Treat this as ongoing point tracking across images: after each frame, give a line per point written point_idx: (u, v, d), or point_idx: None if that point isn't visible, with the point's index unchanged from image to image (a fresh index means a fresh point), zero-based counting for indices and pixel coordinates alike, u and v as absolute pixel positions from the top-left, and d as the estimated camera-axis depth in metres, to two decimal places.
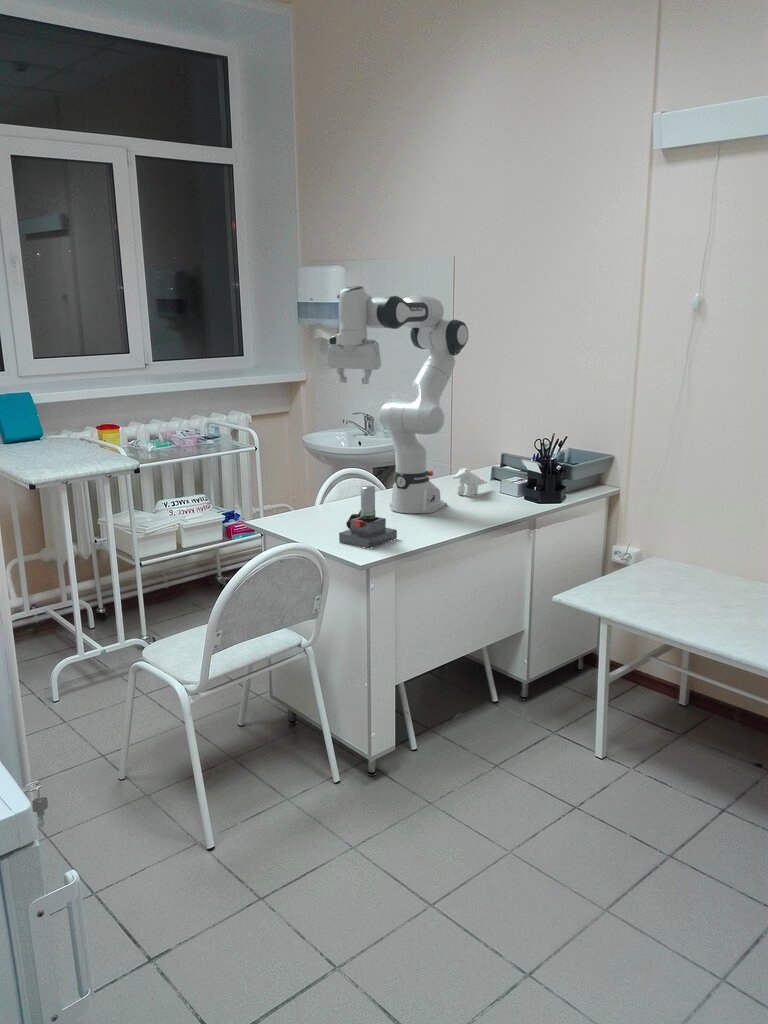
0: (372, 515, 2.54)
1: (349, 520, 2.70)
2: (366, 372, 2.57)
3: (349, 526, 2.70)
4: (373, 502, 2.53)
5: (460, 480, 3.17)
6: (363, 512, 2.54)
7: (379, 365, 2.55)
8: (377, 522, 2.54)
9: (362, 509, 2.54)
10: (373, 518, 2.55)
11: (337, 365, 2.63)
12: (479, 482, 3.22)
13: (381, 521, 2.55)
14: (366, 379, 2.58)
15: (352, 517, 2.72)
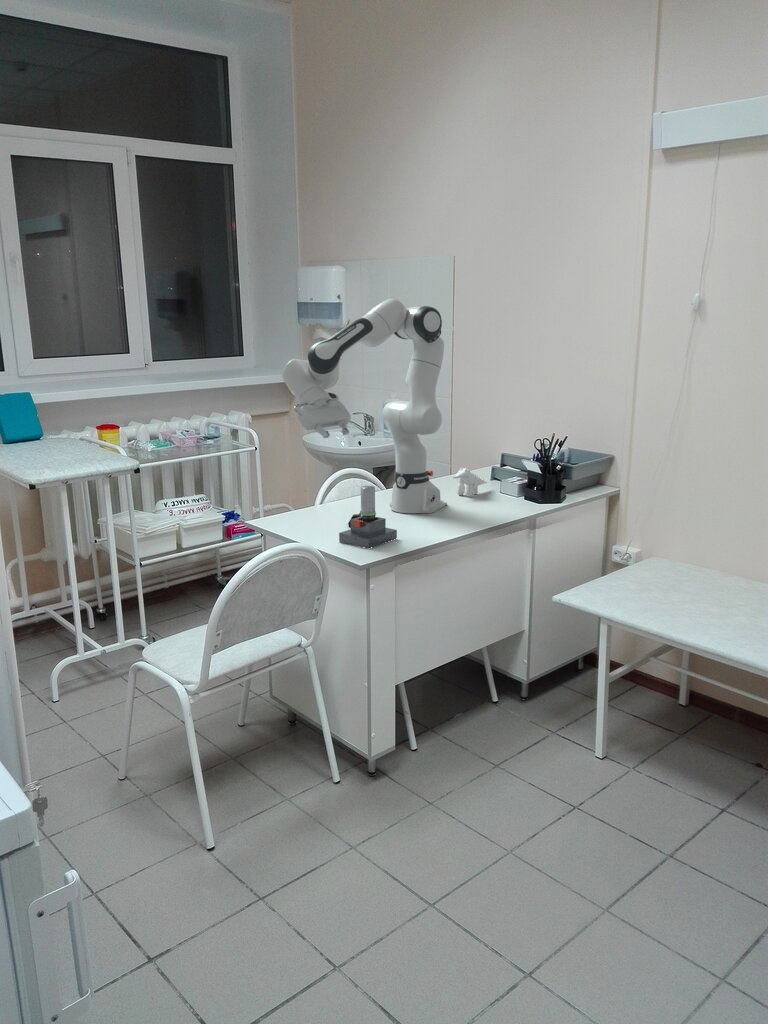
0: (372, 515, 2.54)
1: None
2: None
3: None
4: (373, 502, 2.53)
5: (460, 480, 3.17)
6: (363, 512, 2.54)
7: (307, 422, 2.55)
8: (377, 522, 2.54)
9: (362, 509, 2.54)
10: (373, 518, 2.55)
11: None
12: (480, 482, 3.22)
13: (381, 521, 2.55)
14: (323, 434, 2.58)
15: (354, 517, 2.72)
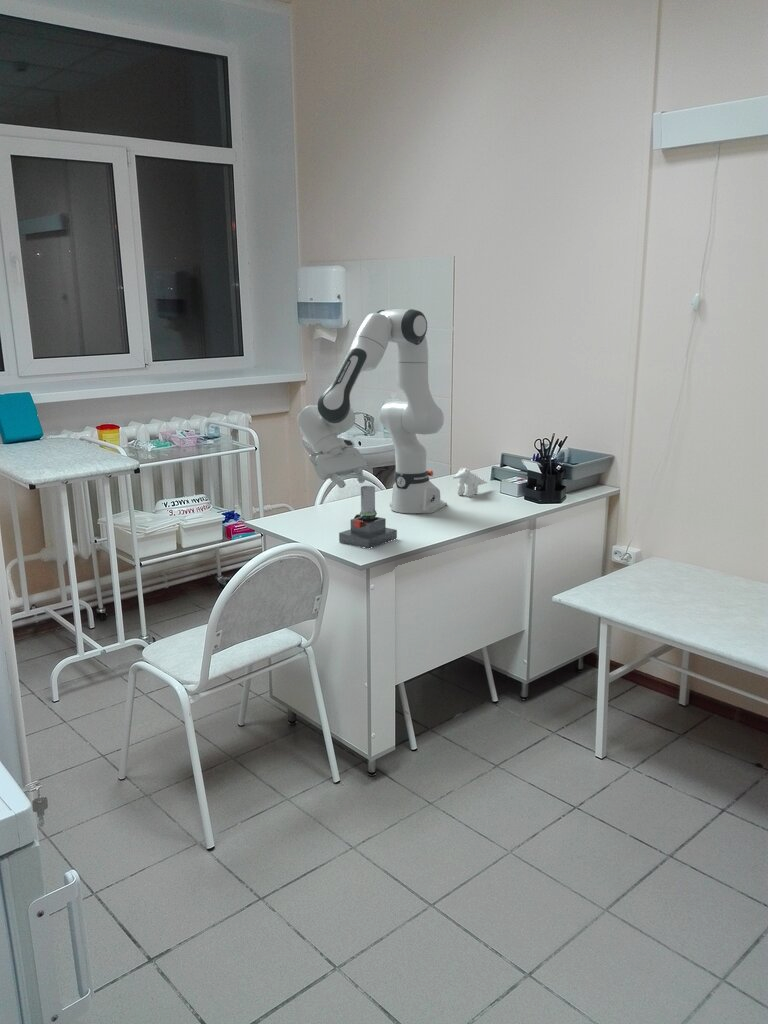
0: (372, 515, 2.54)
1: None
2: None
3: None
4: (373, 502, 2.53)
5: (460, 480, 3.17)
6: (363, 512, 2.54)
7: (322, 472, 2.50)
8: (377, 522, 2.54)
9: (362, 509, 2.54)
10: (373, 518, 2.55)
11: None
12: (480, 482, 3.22)
13: (381, 521, 2.55)
14: (338, 483, 2.53)
15: (356, 517, 2.72)
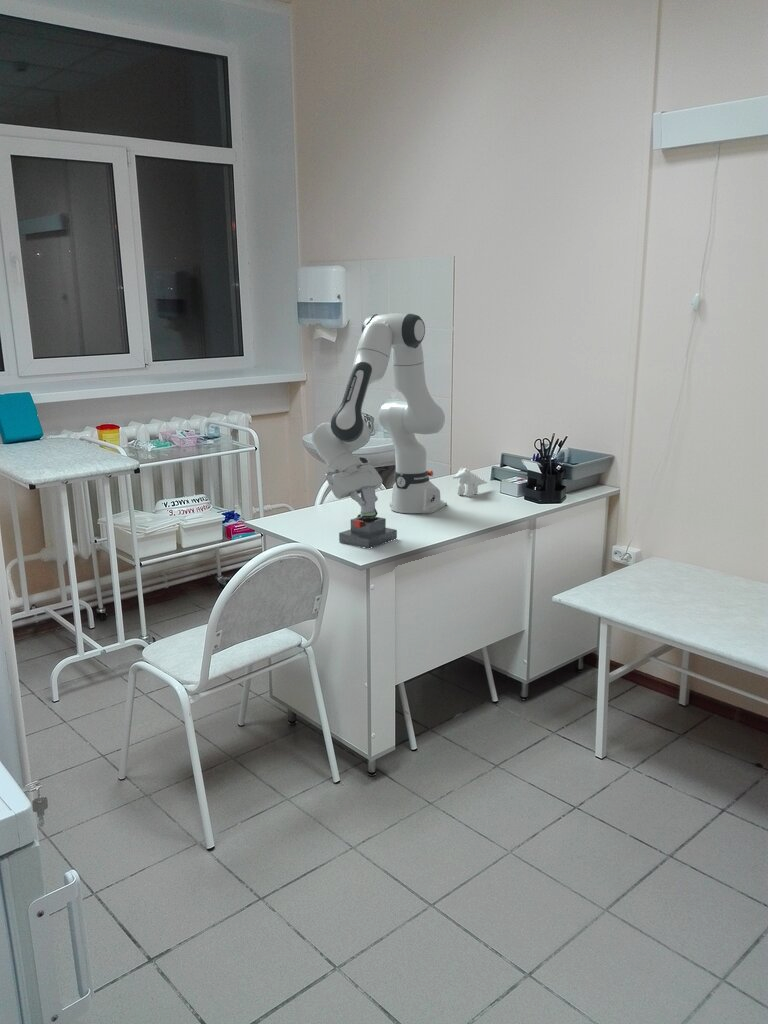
0: (372, 515, 2.54)
1: None
2: None
3: None
4: (373, 502, 2.53)
5: (460, 480, 3.17)
6: (363, 512, 2.54)
7: (339, 491, 2.48)
8: (377, 522, 2.54)
9: (362, 509, 2.54)
10: (373, 518, 2.55)
11: None
12: (480, 482, 3.22)
13: (381, 521, 2.55)
14: (359, 501, 2.52)
15: None
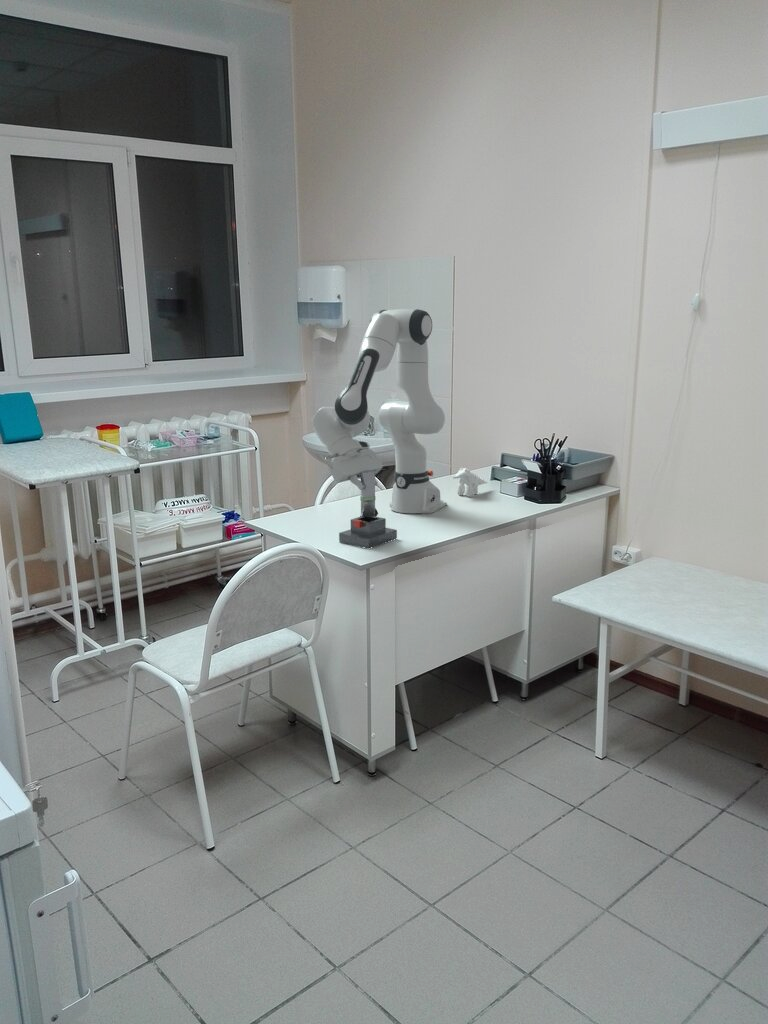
0: (372, 499, 2.53)
1: None
2: None
3: None
4: (373, 486, 2.52)
5: (460, 480, 3.17)
6: (363, 496, 2.52)
7: (338, 475, 2.47)
8: (377, 522, 2.54)
9: (362, 493, 2.53)
10: (373, 503, 2.53)
11: None
12: (479, 482, 3.22)
13: (381, 521, 2.55)
14: (358, 485, 2.51)
15: None
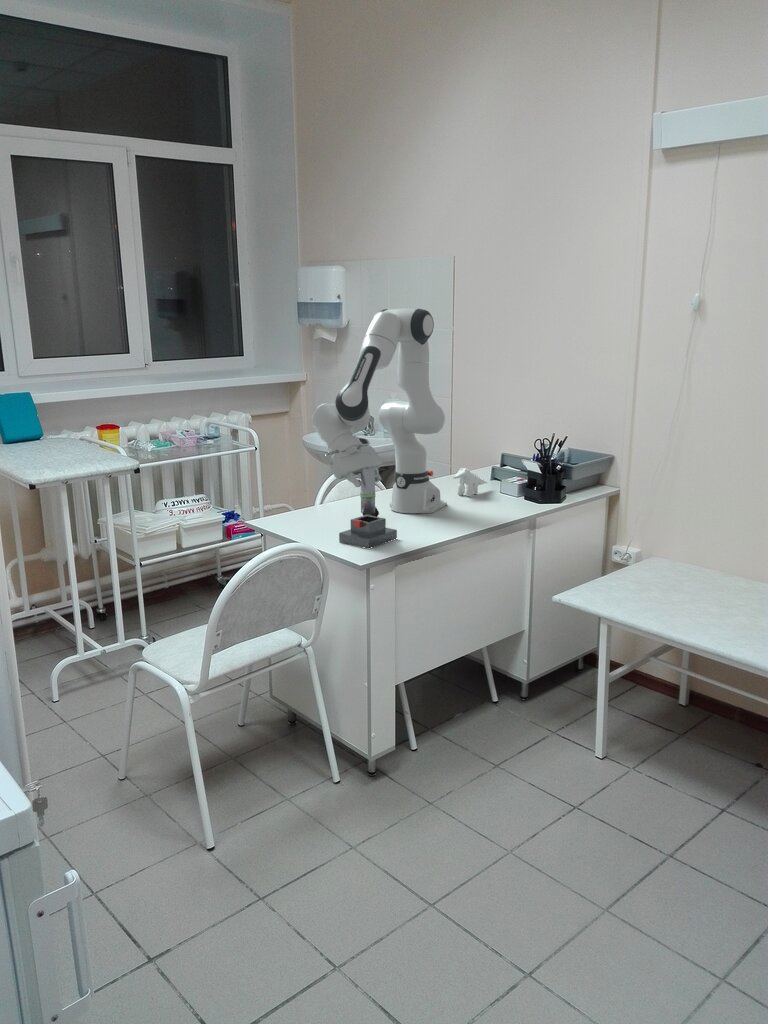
0: (372, 496, 2.52)
1: None
2: None
3: None
4: (373, 483, 2.52)
5: (460, 480, 3.17)
6: (363, 493, 2.52)
7: (338, 471, 2.46)
8: (377, 522, 2.54)
9: (362, 490, 2.52)
10: (373, 499, 2.53)
11: None
12: (479, 482, 3.22)
13: (381, 521, 2.55)
14: (355, 483, 2.49)
15: None
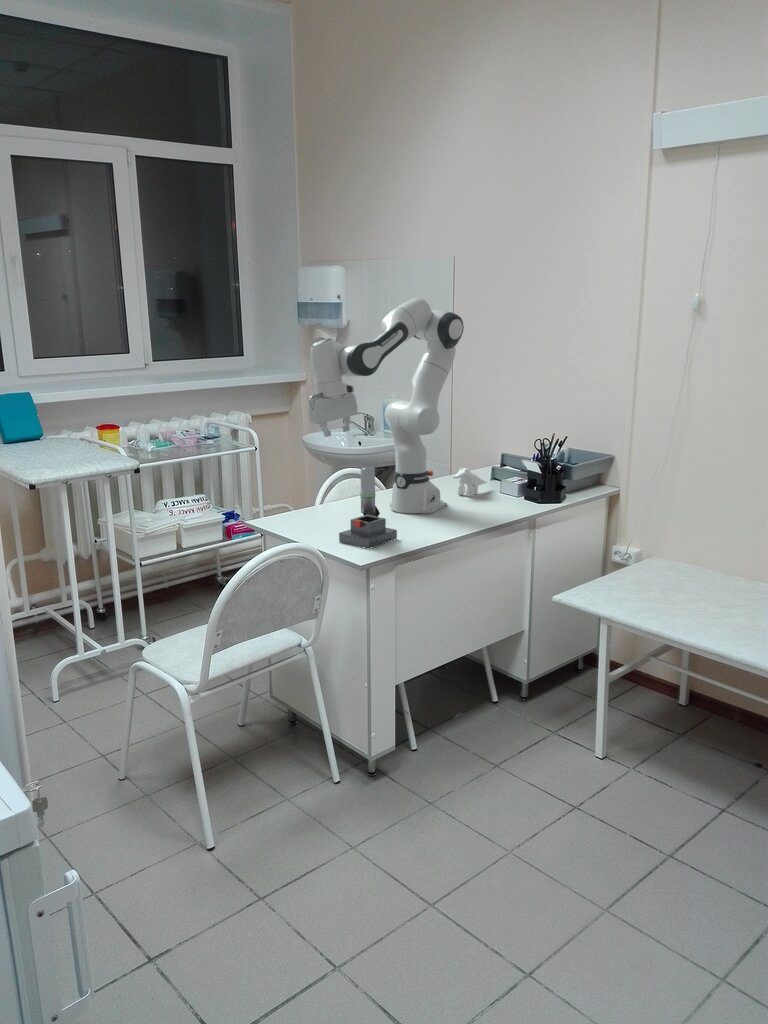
0: (372, 496, 2.52)
1: None
2: None
3: None
4: (373, 483, 2.52)
5: (460, 480, 3.17)
6: (363, 493, 2.52)
7: (315, 420, 2.54)
8: (377, 522, 2.54)
9: (362, 490, 2.52)
10: (373, 499, 2.53)
11: None
12: (480, 482, 3.22)
13: (381, 521, 2.55)
14: (325, 432, 2.59)
15: None
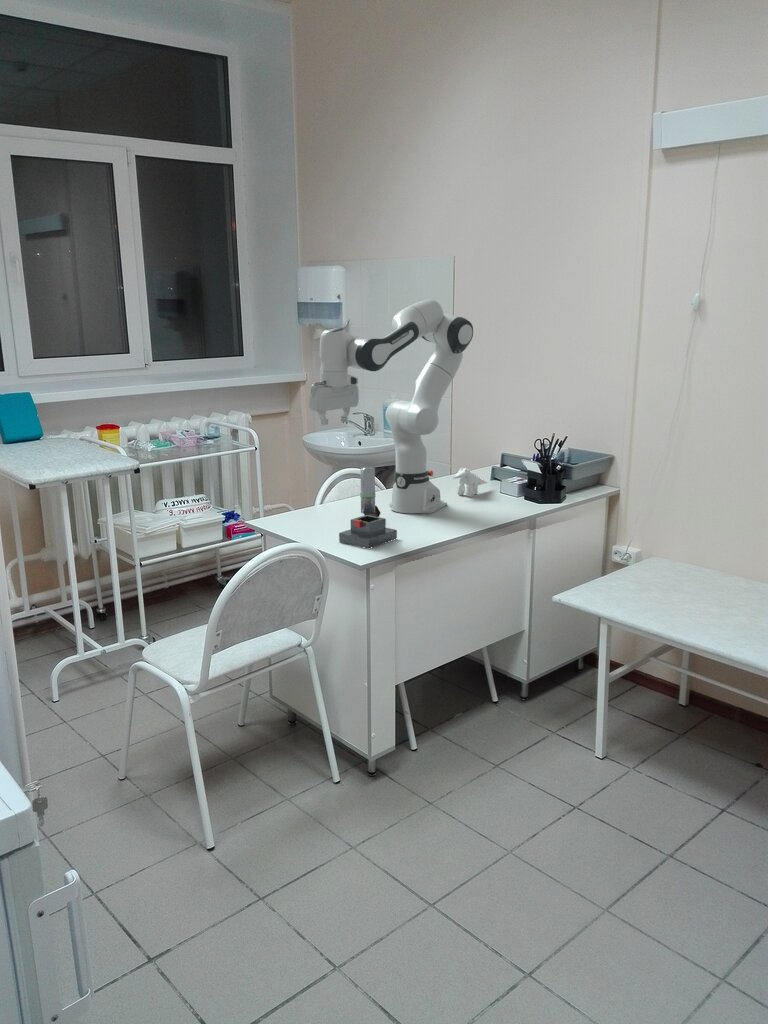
0: (372, 496, 2.52)
1: None
2: None
3: None
4: (373, 483, 2.52)
5: (460, 480, 3.17)
6: (363, 493, 2.52)
7: (314, 408, 2.54)
8: (377, 522, 2.54)
9: (362, 490, 2.52)
10: (373, 499, 2.53)
11: None
12: (479, 482, 3.22)
13: (381, 521, 2.55)
14: (322, 420, 2.59)
15: None
